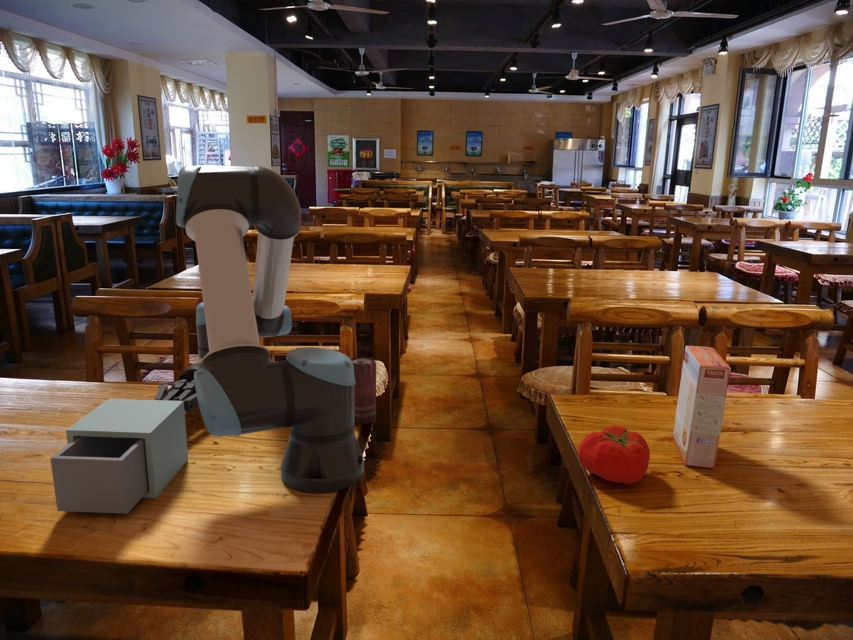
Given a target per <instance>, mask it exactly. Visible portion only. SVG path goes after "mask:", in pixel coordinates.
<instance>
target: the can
mask: <svg viewBox="0 0 853 640" xmlns="http://www.w3.org/2000/svg"><path fill="white" fill-rule="evenodd" d="M350 359H351V361H352V363H353V367H354V378H355V385H354V423H355V424H354V425H358V424H361V425H360V426H362V425H369V424H372V423H374V422H375V420H376V418H377V362H376V361H375V359H374V358H373V357H369V356H356V357H352V358H350Z"/></svg>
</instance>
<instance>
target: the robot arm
mask: <svg viewBox="0 0 853 640" xmlns="http://www.w3.org/2000/svg"><path fill="white" fill-rule="evenodd" d="M176 188H177V189H176V214H175V215H176V217H175V218H176V219H175V220H176V225H177V226H178V227H181V228H185V233H186V235H187V236H188V237H189V239H191V240H192V241H194V242H195V248H196V254H197V263H198V270H199V279H200V287H201V294H202V295H201V296H202V302H200V303H198V304H197V306H196V309H195V318H196V321H195V325H196V336H197V350H198V353H197V354H198V355H197V356H198V359H197V360H196V361H194V362H193V363H192V364H190V366H188V367H187V368H186V369H185V370H184V371H182V372H181V374H180V375H179V377H178V379H177V380H176V381H173V382H172V383H171V385H168V384H166V383H162V382H161V383H159V384H158V391H157V392H156V394H155V395H154V398H153V400H169V401H184V412H185V413H189V412H191V411H193V410H195V409H196V408H199V411H200V414H201V419H202V421H203V424H204V426H205V429H206V430H207V433H209V434H210V435H211V436H213V437H217V438H220V437H221V438H222V437H233V436H234V437H240V436H241V435H245V434H252V433H253V434H254V433H259V432H266V431H267V432H268V431H273V430H281V429H287V428H289V436H288V440H287V444H286V446H285V449H284V450H285V451H284V453H283V457H282V459H281V463H280V475H281V480H282V482H283V483H284V484H285V485H287V486H288V487H289V488H291V489H294V490H297V491H300V492H304V493H312V494H313V493H315V494H323V493H333V492H338V491H342V490H344V489H347V488H350V487H352V486H353V485H355V484H356V483H359V481H360V480H361V479H362V478H363V476H364V474H365V460H364V458H365V457H364V456H363V453H362V449H361V447H360V445H359V442H358V439H357V436H356V433H355V424H354V385H355V378H354V367H353V363H352V361H351V359H352V358H350V357H349V356H347V355H346V354H344V353H342V352H340V351H337V350H333V349H329V348H323V347H313V346H311V347H310V346H305V347H297V348H293V349H291V350H289V351H288V352H287V353H286V357H285V359H286V360H280V361H279V360H278V361H272V357H271V352H270V350H269V349H268V348H267V347H266V346H264V345H262V344H260V338H269V337H270V338H271V337H273V338H274V337H277V336H285V335H288V334H289V333H290V332H291V330H292V314H291V309H290V307H289V306H288V305H285V302H286V295H287V289H288V281H289V274H290V267H291V261H292V254H293V248H294V247H293V246H294V240H295V239H294V238H296V237H297V236H298V234H299V233H300V231H301V223H302V211H301V205H300V201H299V200H298V197H297V194H296V192H295V191H294V189H293V188H292V186H291V185H290V184H289V182H288V181H287V180H286V179H285V178H284V177H282V175H280V173H279V174H278V173H277V172H276V171H274V170H273V169H270V168H268V167H267V168H266V167H264V166H260V165H259V166H258V165H252V166H248V165H247V166H246V165H204V164H199V165H185V166H182V167H181V168H180V169H179V170H178V175H177V187H176ZM250 226H254V229H255V230H256V231H257V233H258V234H257V243H256V254H255V268H254V280H253V291H252V287H251V282H250V275H249V270H248V269H249V268H248V262H247V257H246V250H245V245H244V244H245V243H244V239H243V238H244V237H245V236H246V234H248V232H249V229H250Z"/></svg>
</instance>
